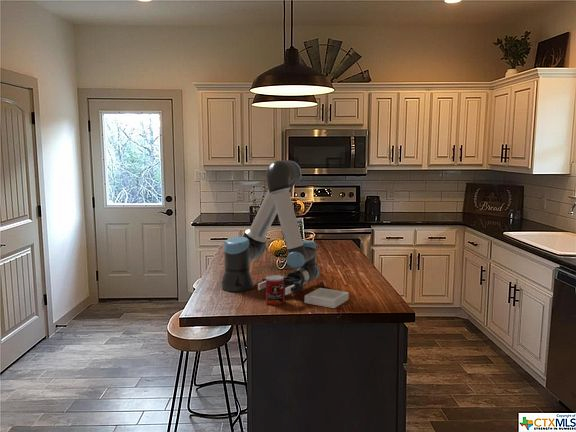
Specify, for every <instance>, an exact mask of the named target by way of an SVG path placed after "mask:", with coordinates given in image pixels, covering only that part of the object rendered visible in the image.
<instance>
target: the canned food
mask: <svg viewBox="0 0 576 432" xmlns="http://www.w3.org/2000/svg"><path fill="white" fill-rule="evenodd" d="M284 277H285V276H283V275H279V274H278V275H277V274H272V275H271V274H270V275H267V276H266V277H265V279H266V288H265V301H266V304H267V305H269V306H279V305H282V304H284V302H285V285H284Z"/></svg>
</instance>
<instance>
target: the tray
mask: <svg viewBox="0 0 576 432" xmlns="http://www.w3.org/2000/svg"><path fill="white" fill-rule="evenodd" d="M349 295H350V294H349V292H348V291H344V290H343V291H342V290H338V289H337V290H336V289H330V288H323V287H319V288H317V289H314V290H313V291H311V292H309V293H307V294H305V295H304V304H309V305H314V306H319V307H325V308H331V309H335V308H338V307H339V306H341V305H343V304H344V303H346V302H347V301H348V300H349Z"/></svg>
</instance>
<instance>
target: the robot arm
mask: <svg viewBox="0 0 576 432" xmlns="http://www.w3.org/2000/svg"><path fill="white" fill-rule="evenodd" d="M265 174H266V175H265V177H266V180H265V181H266V184H267V188H268V190H267V192H266V194H265V196H264V199H263V200H262V203H261V205H260V207H259V209H258V211H257V214H256V215H255V217H254V219H253V221H252V224H251V225H250V228H247V229H245V231H244V233H243V236H234V237H230V238H227V239H226V240H225V241H224V246H223V250H224V251H223V252H224V255H223V256H224V273H223V277H222V280H221V284H220V285H221V287H220V288H221V289H222V290H223V291H227V292H246V291H249V290H252V289H254V281H253V278H252V275H251V274H252V273H251V272H250V262H251V261H254V260H257V259H259V258H260V257H261V256H262V255H264V253H265V251H266V246H267V245H266V243H267V241H268V239H267V234H268V232H269V231H270V228H271V226H272V224H273V222H274V220H275V218H276V216H278V221H279V224H280V228H281V230H282V234H283V239H284V241H285V246H286V250H287V254H288V255H287V256H286V263H287V265H288V267H290V268H292V269H295V270H292V271H290V272H289V273H288V274H287V275H286V276H283V277H284V286H287V287H284V296H287V295H289V294H291V293H294V292H298V291H299V292H303V289H304V287H305V286H306V284H308V283H310V282H313V281H314V280H315V279H318V277H319V276H320V268H319V266H318V265H316V264H317V262H316V260H317V254H316V251H317V246H316V245H317V244H316V241H313V240H309V239H308V240H307V239H306V240H303V238H302V235H301V231H300V228H299V225H298V223H299V222H298V219H297V216H296V213H295V208H294V205H293V201H292V198H291V194H290V193H291V192H292V191H293V188H294V187H295V185H296V184H298V183H299V182H300V180H301V178H302V174H303V173H302V169H301V167H300V165H299V164H298V163H297V162H296V161H294V160H289V159H286V160H276V161H273V162H271V163H270V165H269V166H268V167H267V169H266V173H265ZM263 289H266V278H263V279H262V280H261V282H259V283H257V290H258V291H261V290H263Z"/></svg>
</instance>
